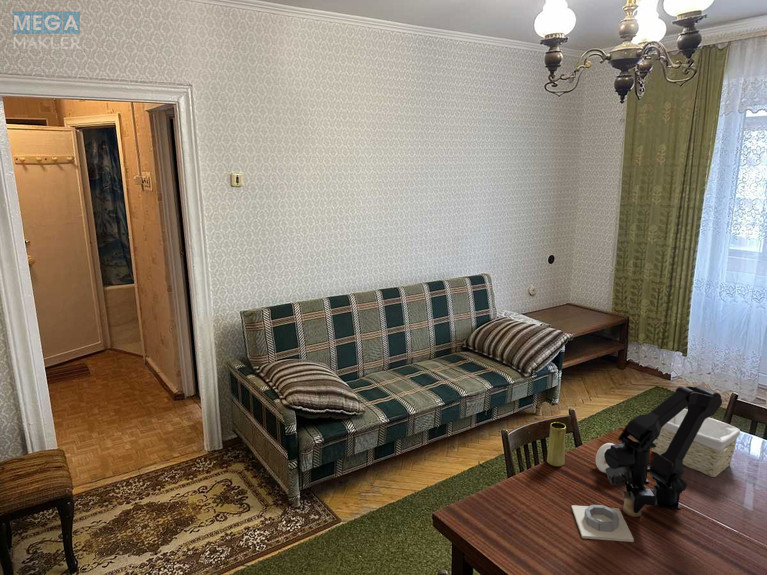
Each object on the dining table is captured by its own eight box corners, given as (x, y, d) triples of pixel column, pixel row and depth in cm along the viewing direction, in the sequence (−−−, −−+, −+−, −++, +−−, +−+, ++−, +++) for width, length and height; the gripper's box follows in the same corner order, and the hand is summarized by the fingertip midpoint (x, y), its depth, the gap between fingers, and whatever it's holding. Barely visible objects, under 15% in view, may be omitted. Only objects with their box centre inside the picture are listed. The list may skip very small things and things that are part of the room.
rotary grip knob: (640, 507, 166) (642, 489, 165) (646, 517, 161) (648, 499, 160) (618, 505, 167) (620, 488, 165) (623, 516, 162) (625, 497, 161)
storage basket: (736, 465, 188) (742, 427, 185) (716, 482, 179) (722, 442, 175) (667, 438, 207) (672, 403, 203) (646, 452, 197) (650, 415, 194)
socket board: (618, 510, 165) (619, 501, 164) (633, 541, 151) (634, 532, 150) (571, 507, 166) (572, 498, 166) (582, 538, 153) (582, 528, 152)
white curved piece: (586, 470, 186) (588, 447, 184) (605, 458, 193) (607, 436, 191) (618, 485, 177) (620, 461, 175) (636, 472, 185) (638, 448, 183)
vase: (565, 467, 188) (568, 430, 185) (547, 465, 189) (549, 428, 186) (563, 458, 194) (566, 422, 190) (545, 456, 195) (548, 420, 192)
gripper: (601, 443, 170) (597, 487, 174) (619, 477, 152) (614, 525, 156) (638, 445, 169) (633, 489, 172) (660, 479, 151) (654, 528, 154)
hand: (632, 507), depth 164 cm, fingers closed on rotary grip knob, 5 cm apart
